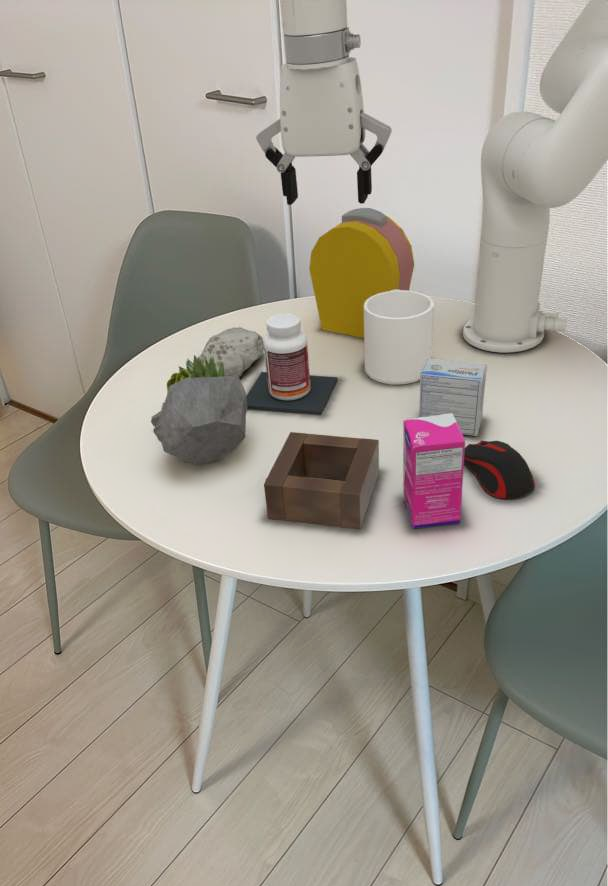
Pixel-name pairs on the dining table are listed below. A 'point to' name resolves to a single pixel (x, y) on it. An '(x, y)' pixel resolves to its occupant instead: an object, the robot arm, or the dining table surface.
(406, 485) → the supplement box
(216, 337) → the decorative stone
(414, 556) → the dining table surface
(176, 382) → the potted plant
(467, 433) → the medicine box
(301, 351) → the pill bottle
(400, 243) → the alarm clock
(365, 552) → the dining table surface
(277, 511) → the holder
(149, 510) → the dining table surface
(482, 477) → the computer mouse
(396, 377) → the mug
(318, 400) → the mat
